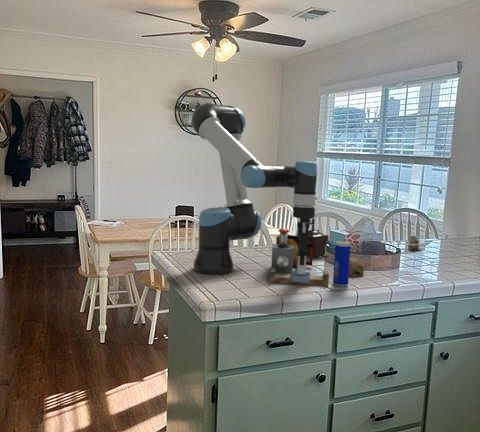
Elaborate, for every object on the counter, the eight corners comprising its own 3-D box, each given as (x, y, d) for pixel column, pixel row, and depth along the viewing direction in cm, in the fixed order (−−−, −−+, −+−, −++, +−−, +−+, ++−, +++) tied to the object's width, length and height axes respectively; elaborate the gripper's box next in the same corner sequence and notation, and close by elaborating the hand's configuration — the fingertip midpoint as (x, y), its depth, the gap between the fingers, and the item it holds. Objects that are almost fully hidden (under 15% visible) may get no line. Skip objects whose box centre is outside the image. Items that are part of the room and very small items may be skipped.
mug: (313, 268, 191) (314, 238, 190) (281, 270, 187) (282, 239, 185) (301, 262, 200) (303, 234, 199) (271, 264, 196) (272, 235, 194)
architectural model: (421, 251, 237) (422, 236, 236) (411, 252, 234) (412, 237, 233) (415, 249, 240) (416, 235, 239) (405, 250, 237) (407, 235, 236)
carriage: (292, 281, 166) (293, 249, 164) (291, 276, 173) (293, 245, 172) (309, 282, 165) (311, 250, 164) (308, 277, 173) (310, 246, 172)
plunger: (278, 248, 180) (279, 229, 179) (278, 246, 184) (279, 228, 183) (287, 248, 180) (288, 230, 179) (287, 247, 183) (288, 228, 182)
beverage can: (331, 282, 171) (333, 240, 169) (345, 282, 171) (348, 241, 169) (335, 286, 165) (337, 243, 164) (349, 286, 166) (352, 243, 164)
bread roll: (343, 286, 180) (351, 269, 176) (329, 269, 188) (335, 252, 184) (364, 283, 185) (371, 267, 181) (348, 267, 192) (355, 250, 188)
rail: (270, 282, 168) (270, 271, 167) (270, 278, 173) (271, 267, 173) (328, 285, 166) (328, 274, 165) (326, 281, 171) (327, 270, 171)
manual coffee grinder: (329, 255, 216) (331, 216, 214) (311, 258, 210) (313, 217, 208) (305, 249, 229) (307, 212, 227) (288, 251, 223) (290, 213, 220)
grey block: (271, 274, 179) (272, 248, 177) (271, 269, 187) (272, 243, 186) (292, 275, 178) (294, 249, 177) (292, 270, 186) (293, 244, 185)
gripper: (317, 209, 157) (313, 279, 160) (313, 204, 174) (310, 266, 177) (294, 208, 158) (290, 277, 161) (292, 203, 175) (289, 265, 178)
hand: (300, 271), depth 169 cm, fingers closed on carriage, 4 cm apart
